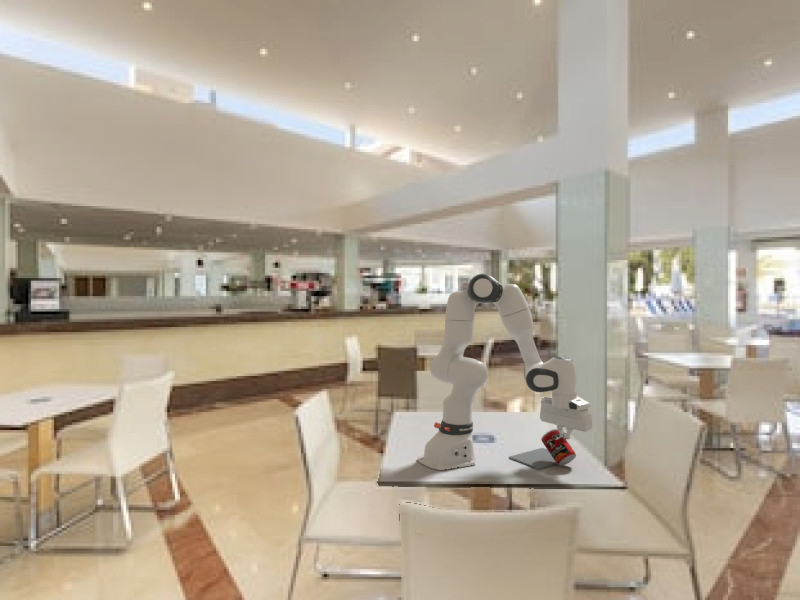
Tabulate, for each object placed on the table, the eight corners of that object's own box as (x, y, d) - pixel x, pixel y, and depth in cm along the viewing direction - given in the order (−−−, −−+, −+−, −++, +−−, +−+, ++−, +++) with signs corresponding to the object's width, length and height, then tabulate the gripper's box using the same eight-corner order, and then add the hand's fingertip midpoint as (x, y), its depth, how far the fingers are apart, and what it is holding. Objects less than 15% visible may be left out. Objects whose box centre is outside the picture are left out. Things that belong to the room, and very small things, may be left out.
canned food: (554, 466, 169) (537, 440, 177) (565, 466, 174) (548, 441, 182) (569, 453, 166) (551, 428, 174) (580, 454, 171) (562, 429, 179)
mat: (538, 469, 168) (538, 468, 168) (508, 458, 180) (508, 456, 180) (572, 459, 180) (572, 457, 180) (542, 449, 191) (542, 447, 191)
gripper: (535, 397, 179) (536, 433, 179) (583, 407, 162) (584, 446, 162) (546, 395, 182) (547, 430, 182) (594, 404, 165) (595, 443, 165)
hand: (565, 438), depth 172 cm, fingers closed
